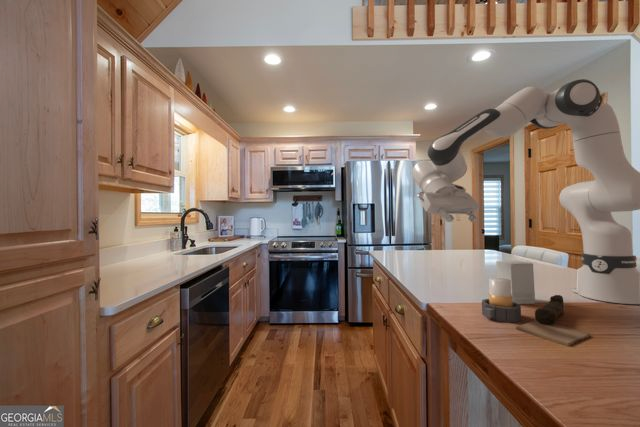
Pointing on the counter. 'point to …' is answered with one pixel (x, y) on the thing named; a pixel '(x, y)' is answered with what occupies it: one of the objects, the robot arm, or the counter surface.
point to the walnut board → (553, 332)
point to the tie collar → (501, 312)
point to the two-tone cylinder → (500, 292)
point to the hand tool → (550, 310)
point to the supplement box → (518, 280)
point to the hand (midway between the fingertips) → (462, 220)
